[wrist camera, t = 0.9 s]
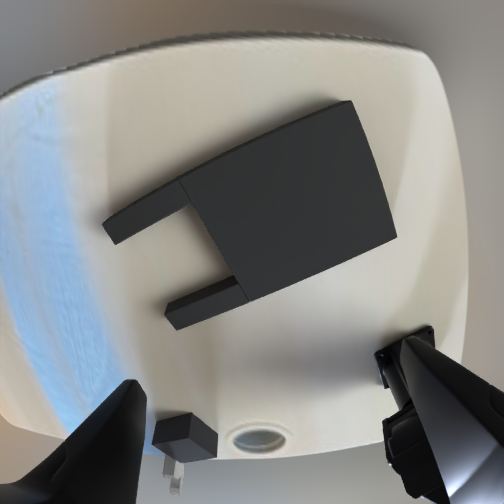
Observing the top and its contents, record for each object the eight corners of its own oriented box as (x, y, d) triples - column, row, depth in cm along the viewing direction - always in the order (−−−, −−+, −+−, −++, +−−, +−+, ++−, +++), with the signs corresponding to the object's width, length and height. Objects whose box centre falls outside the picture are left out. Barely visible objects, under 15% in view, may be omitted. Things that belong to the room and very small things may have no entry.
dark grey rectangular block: (218, 433, 33) (217, 457, 30) (183, 441, 34) (180, 463, 31) (191, 412, 31) (188, 437, 27) (156, 421, 32) (151, 444, 28)
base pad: (389, 229, 22) (397, 237, 20) (179, 319, 25) (176, 331, 23) (344, 100, 18) (351, 99, 16) (109, 216, 21) (101, 224, 19)
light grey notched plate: (178, 439, 34) (184, 468, 38) (168, 438, 34) (176, 467, 38) (173, 476, 28) (181, 499, 33) (162, 474, 28) (172, 497, 33)
